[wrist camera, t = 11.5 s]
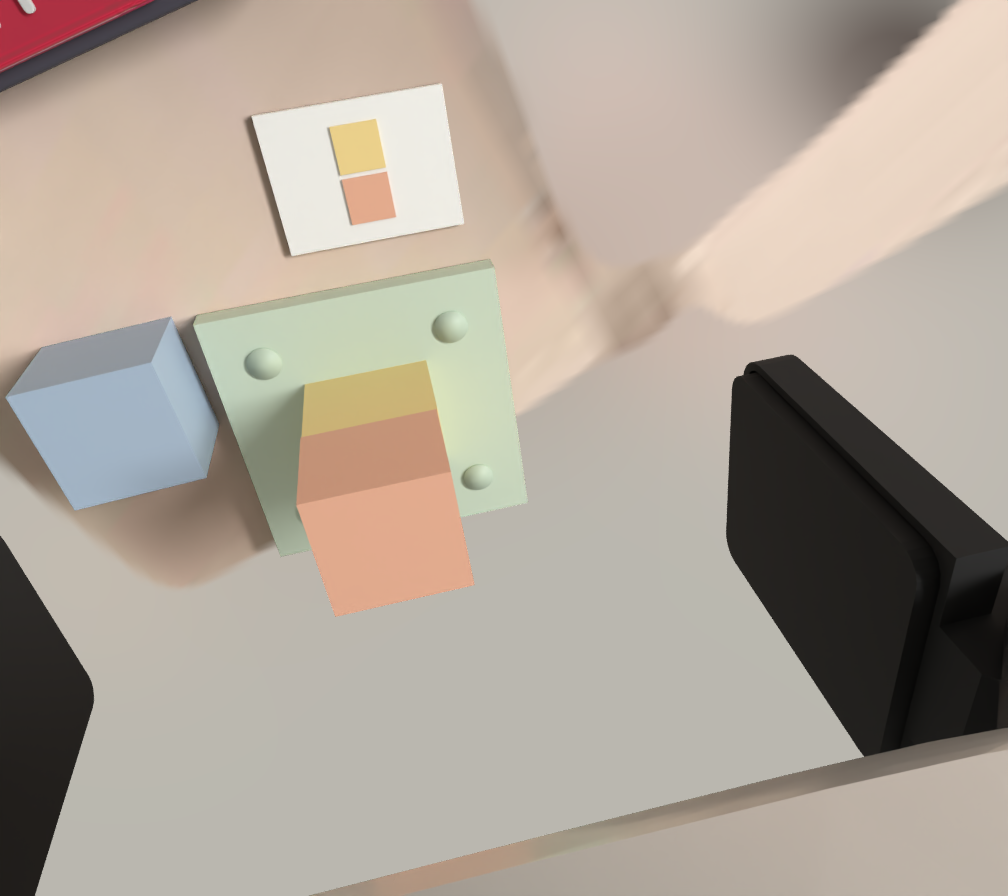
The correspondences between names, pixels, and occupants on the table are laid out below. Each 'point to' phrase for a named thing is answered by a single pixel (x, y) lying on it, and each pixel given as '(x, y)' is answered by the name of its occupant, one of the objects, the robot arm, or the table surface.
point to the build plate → (362, 348)
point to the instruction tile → (361, 168)
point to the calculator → (66, 30)
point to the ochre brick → (367, 398)
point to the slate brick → (117, 413)
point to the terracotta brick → (382, 512)
